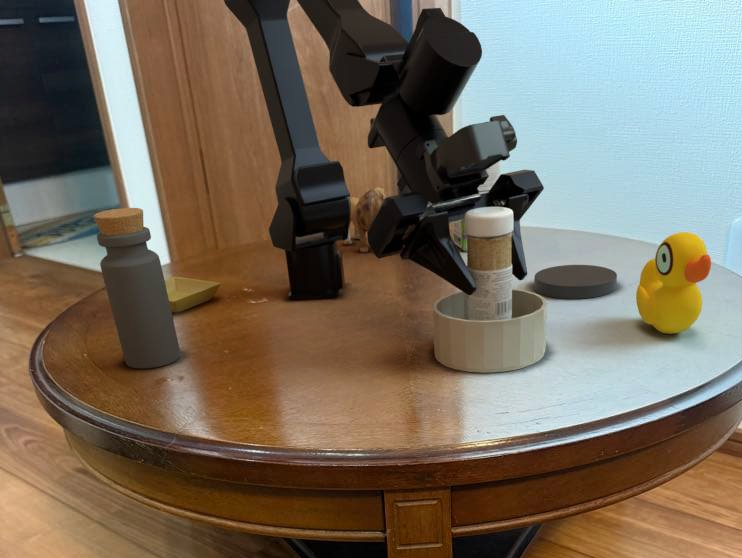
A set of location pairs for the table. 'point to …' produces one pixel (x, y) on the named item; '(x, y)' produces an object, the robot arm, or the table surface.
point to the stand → (575, 281)
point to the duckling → (673, 283)
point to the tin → (490, 334)
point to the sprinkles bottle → (489, 262)
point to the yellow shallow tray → (189, 292)
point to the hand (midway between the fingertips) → (499, 284)
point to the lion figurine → (364, 214)
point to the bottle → (136, 290)
